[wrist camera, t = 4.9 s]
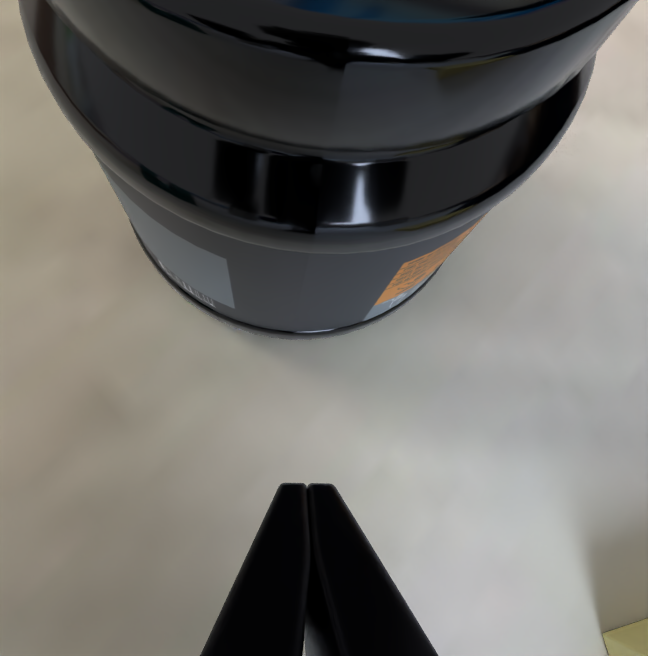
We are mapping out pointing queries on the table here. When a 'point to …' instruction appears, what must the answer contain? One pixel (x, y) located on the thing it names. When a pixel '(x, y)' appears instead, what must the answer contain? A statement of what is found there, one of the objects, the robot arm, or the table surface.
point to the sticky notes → (628, 640)
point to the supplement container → (314, 136)
